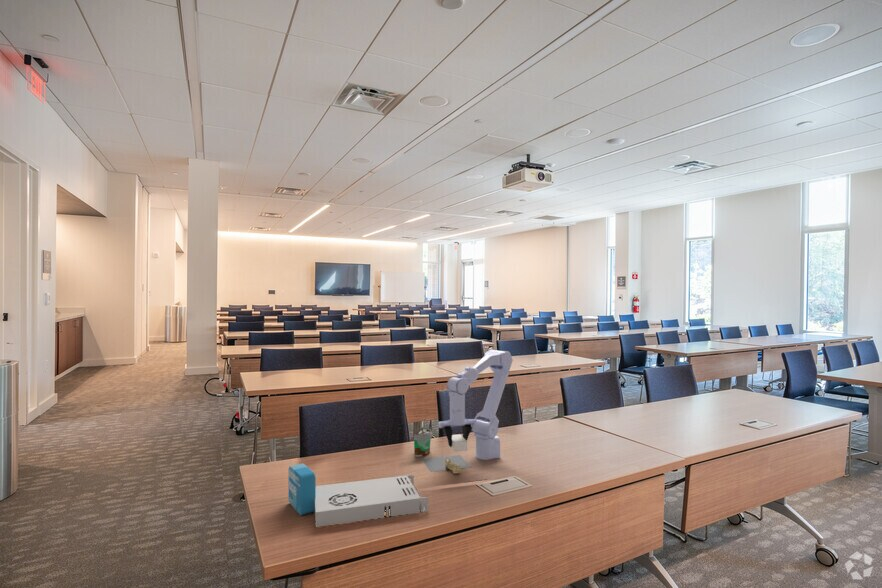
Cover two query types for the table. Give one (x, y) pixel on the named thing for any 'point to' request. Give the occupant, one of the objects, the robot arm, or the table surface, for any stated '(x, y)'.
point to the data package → (302, 488)
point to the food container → (422, 442)
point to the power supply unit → (367, 500)
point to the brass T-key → (452, 466)
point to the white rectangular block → (458, 443)
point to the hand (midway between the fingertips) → (457, 445)
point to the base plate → (439, 462)
